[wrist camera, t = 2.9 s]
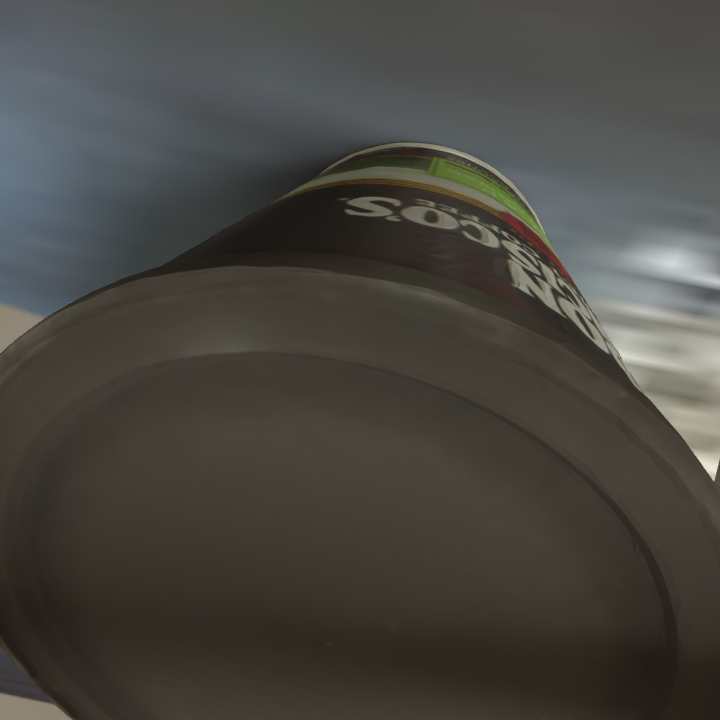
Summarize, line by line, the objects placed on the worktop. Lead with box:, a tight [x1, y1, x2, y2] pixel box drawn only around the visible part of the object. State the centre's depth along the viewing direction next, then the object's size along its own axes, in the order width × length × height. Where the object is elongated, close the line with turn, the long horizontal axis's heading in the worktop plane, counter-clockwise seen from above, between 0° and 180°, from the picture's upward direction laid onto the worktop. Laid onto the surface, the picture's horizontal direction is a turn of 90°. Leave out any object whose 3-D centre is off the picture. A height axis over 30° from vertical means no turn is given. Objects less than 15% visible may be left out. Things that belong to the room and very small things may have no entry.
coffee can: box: [0, 143, 720, 720], centre depth 13 cm, size 10×10×14 cm
